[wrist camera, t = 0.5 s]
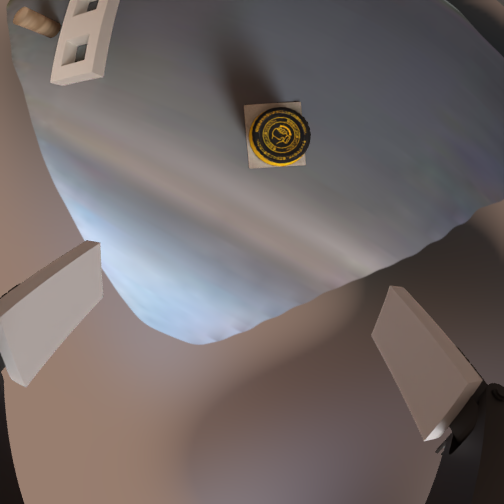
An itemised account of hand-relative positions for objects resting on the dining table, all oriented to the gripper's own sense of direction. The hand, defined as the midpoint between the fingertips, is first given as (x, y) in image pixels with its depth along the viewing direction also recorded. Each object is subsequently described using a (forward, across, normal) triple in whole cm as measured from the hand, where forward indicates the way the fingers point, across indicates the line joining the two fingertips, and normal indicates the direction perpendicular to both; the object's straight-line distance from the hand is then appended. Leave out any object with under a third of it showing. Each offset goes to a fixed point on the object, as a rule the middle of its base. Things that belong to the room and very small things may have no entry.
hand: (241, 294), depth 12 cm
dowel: (+27, -38, +26) cm, 54 cm away
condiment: (+27, +2, +9) cm, 29 cm away
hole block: (+27, -29, +24) cm, 46 cm away
